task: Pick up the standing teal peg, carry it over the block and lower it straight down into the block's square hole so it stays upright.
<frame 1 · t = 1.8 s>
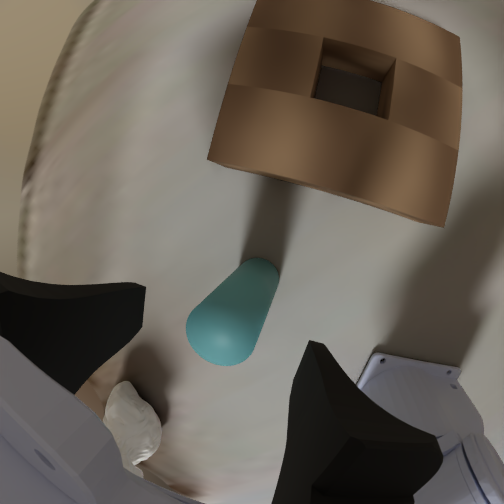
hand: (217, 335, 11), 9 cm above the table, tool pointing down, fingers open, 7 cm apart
peg: (257, 278, 20), on the table
bust: (145, 413, 25), on the table
hole block: (347, 98, 16), on the table
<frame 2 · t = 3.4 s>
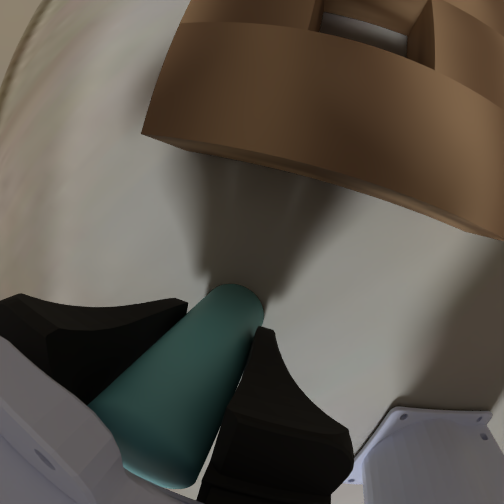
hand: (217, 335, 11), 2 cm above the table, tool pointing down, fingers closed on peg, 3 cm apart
peg: (232, 313, 13), on the table, touching gripper
hole block: (362, 52, 10), on the table
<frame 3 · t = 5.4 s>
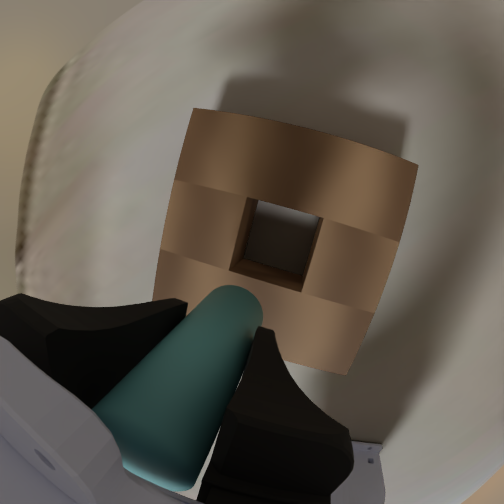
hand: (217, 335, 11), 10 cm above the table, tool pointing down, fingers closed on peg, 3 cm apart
peg: (232, 314, 13), point 8 cm above the table, touching gripper
hole block: (281, 237, 20), on the table
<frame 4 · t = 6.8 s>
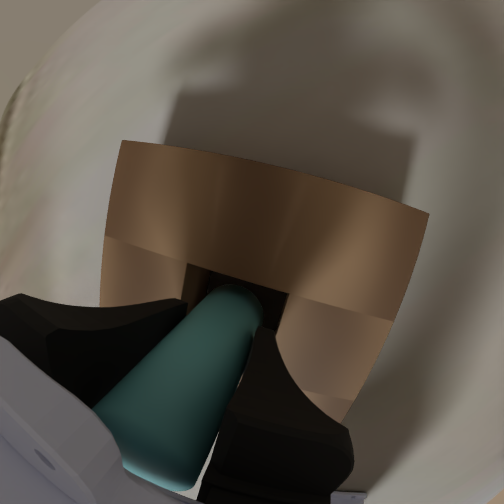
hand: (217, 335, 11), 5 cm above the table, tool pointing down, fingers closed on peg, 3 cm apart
peg: (232, 313, 13), point 3 cm above the table, touching gripper
hole block: (244, 296, 16), on the table
when the fingers open (5 cm above the table, at t = 7.6 s): peg drops 2 cm, resting in hole block.
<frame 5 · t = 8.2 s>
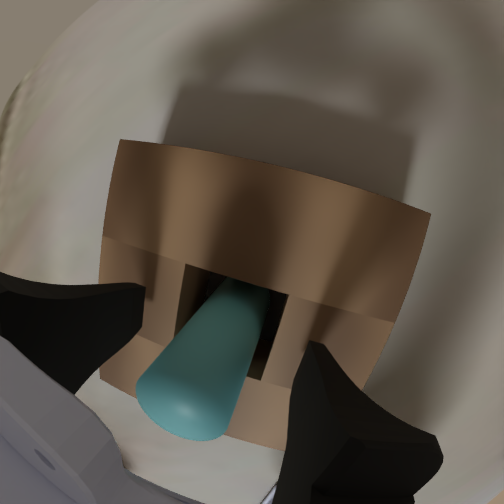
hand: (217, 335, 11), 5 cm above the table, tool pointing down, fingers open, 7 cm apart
peg: (243, 298, 16), resting in hole block
hole block: (244, 297, 16), on the table
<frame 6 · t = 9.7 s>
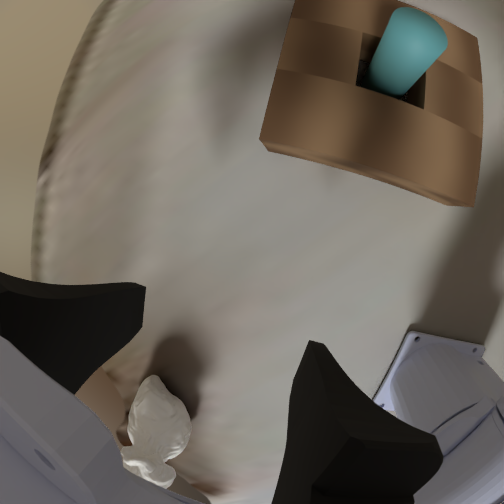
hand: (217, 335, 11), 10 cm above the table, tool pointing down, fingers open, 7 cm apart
peg: (380, 90, 16), resting in hole block
bust: (171, 409, 25), on the table
hole block: (379, 90, 16), on the table
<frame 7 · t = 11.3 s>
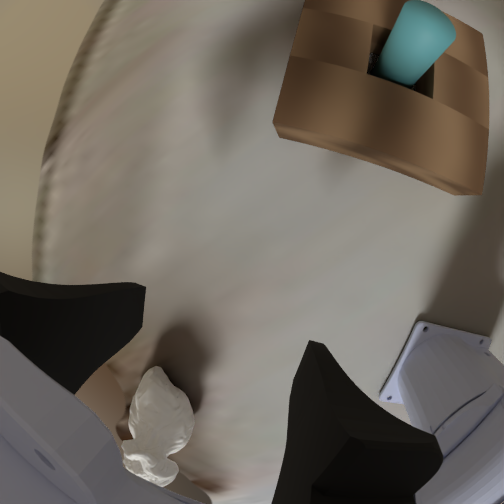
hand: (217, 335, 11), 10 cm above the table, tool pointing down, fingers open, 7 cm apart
peg: (388, 81, 16), resting in hole block
bust: (173, 402, 25), on the table
hole block: (388, 81, 16), on the table
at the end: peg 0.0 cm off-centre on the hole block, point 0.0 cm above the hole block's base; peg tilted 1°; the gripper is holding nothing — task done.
